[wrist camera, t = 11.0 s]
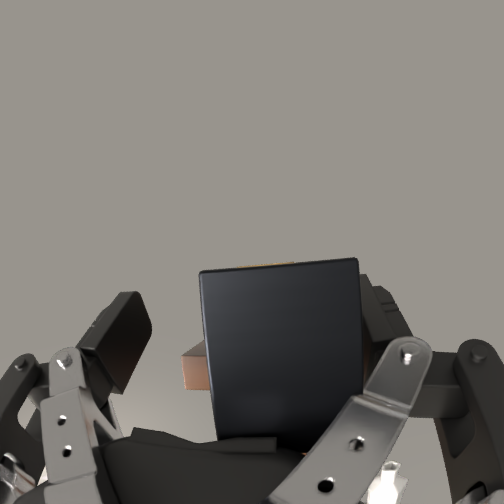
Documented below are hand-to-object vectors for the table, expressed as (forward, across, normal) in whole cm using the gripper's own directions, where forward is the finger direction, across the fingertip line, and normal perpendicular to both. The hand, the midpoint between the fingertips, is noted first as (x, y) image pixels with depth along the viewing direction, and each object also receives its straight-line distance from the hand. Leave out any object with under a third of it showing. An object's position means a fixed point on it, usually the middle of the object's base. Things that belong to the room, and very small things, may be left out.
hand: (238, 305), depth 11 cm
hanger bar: (+3, -1, +5) cm, 6 cm away
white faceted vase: (-6, -11, +37) cm, 39 cm away
